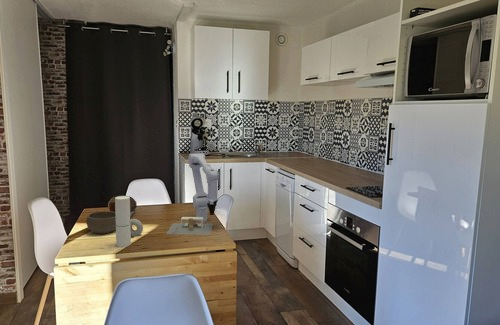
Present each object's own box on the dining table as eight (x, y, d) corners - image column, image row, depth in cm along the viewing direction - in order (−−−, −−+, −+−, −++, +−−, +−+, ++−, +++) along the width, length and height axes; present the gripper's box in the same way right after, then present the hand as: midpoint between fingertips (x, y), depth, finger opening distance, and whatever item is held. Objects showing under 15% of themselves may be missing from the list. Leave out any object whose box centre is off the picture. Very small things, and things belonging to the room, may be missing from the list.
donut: (124, 236, 204) (124, 219, 202) (127, 234, 207) (127, 217, 206) (141, 238, 202) (141, 220, 200) (144, 236, 205) (144, 218, 204)
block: (190, 223, 227) (190, 217, 227) (196, 223, 227) (196, 217, 227) (189, 225, 223) (189, 219, 223) (196, 225, 223) (196, 219, 223)
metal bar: (175, 228, 218) (175, 226, 217) (177, 228, 218) (177, 226, 218) (172, 233, 208) (172, 231, 208) (174, 233, 208) (174, 231, 208)
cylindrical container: (132, 242, 195) (131, 196, 192) (128, 247, 188) (127, 199, 185) (118, 242, 195) (117, 196, 191) (114, 246, 188) (113, 199, 184)
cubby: (172, 224, 228) (172, 214, 227) (213, 224, 228) (213, 214, 227) (166, 235, 207) (165, 224, 206) (210, 236, 207) (210, 225, 207)
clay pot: (142, 193, 259) (129, 194, 234) (143, 214, 258) (131, 218, 233) (121, 195, 259) (106, 196, 234) (123, 217, 258) (108, 220, 233)
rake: (187, 225, 223) (187, 214, 222) (197, 225, 223) (197, 214, 222) (185, 230, 214) (185, 218, 213) (195, 230, 214) (195, 219, 213)
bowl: (125, 228, 218) (125, 211, 217) (106, 237, 201) (106, 220, 200) (101, 225, 222) (100, 209, 221) (80, 234, 205) (79, 217, 204)
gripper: (206, 188, 225) (206, 209, 227) (204, 193, 211) (204, 216, 213) (218, 188, 225) (218, 210, 227) (216, 193, 211) (216, 216, 213)
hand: (212, 213), depth 220 cm, fingers open, 7 cm apart
